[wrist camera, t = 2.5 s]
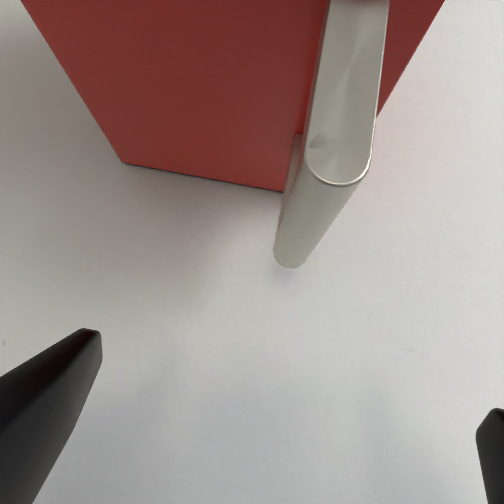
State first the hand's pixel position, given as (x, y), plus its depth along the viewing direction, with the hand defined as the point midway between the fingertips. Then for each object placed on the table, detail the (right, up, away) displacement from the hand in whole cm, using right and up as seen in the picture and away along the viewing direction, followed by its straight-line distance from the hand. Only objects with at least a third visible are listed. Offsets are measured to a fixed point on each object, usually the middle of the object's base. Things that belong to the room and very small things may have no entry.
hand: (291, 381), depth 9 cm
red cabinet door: (-3, +5, +12) cm, 13 cm away
